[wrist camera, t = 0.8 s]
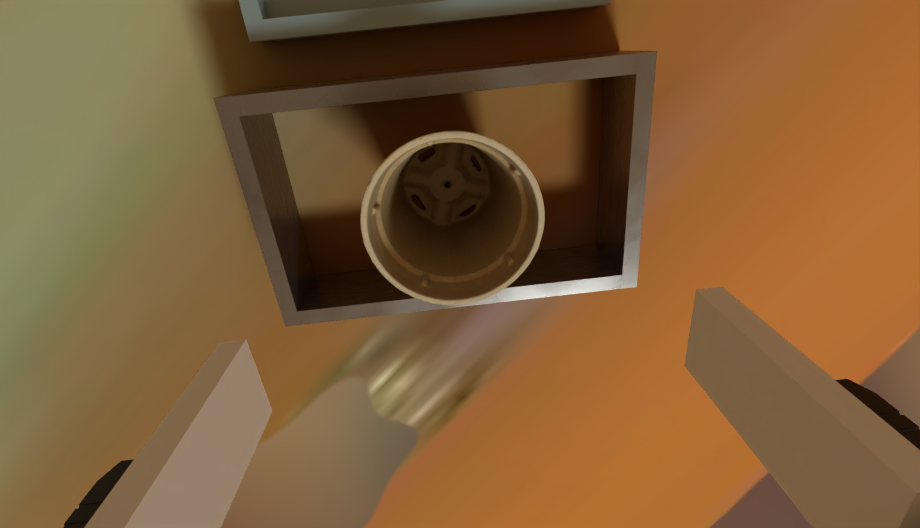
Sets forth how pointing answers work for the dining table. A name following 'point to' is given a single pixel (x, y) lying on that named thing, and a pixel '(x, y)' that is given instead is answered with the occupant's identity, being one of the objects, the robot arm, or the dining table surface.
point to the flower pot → (452, 218)
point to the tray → (380, 14)
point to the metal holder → (258, 138)
